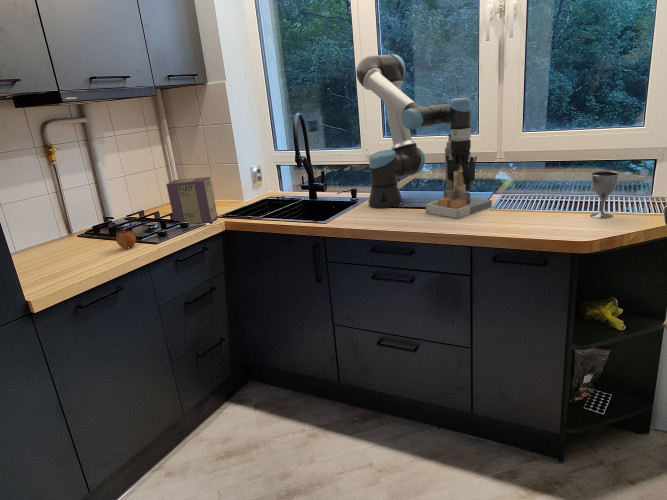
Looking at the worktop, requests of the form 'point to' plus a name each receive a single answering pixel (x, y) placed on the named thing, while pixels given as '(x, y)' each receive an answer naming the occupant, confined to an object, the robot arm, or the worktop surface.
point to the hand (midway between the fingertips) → (461, 197)
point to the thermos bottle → (447, 152)
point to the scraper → (458, 188)
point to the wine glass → (604, 189)
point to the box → (192, 200)
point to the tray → (446, 210)
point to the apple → (126, 239)
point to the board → (477, 204)
